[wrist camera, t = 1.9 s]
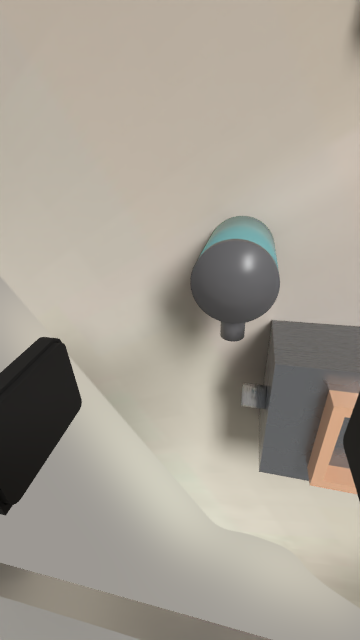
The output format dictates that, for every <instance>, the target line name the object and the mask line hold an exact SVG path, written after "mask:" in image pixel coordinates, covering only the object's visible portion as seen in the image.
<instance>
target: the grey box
mask: <svg viewBox="0 0 360 640" xmlns="http://www.w3.org/2000/svg"><path fill="white" fill-rule="evenodd" d="M359 392H360V327H355V326H342V325H329V324H315V323H302V322H288V321H275V320H272V325H271V332H270V340H269V348H268V355H267V363H266V370H265V378H264V385H257V384H249V383H243V387H242V399H241V406H245V407H252V408H259V409H260V416H259V472H264V473H270V474H275V475H280V476H286V477H291V478H297V479H302V480H307V481H309V483H310V485H311V486H316V487H322V488H327V489H332V490H338V491H343V492H348V493H353V494H357V491H356V487H355V484H354V481H353V477H352V474H351V471H350V467H349V464H348V460H347V457H346V454H345V450H344V446H343V437H344V434H345V431H346V428H347V425H348V422H349V420H350V417H351V414H352V411H353V408H354V406H355V403H356V400H357V397H358V395H359Z"/></svg>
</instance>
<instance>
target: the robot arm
mask: <svg viewBox="0 0 360 640" xmlns="http://www.w3.org/2000/svg"><path fill="white" fill-rule="evenodd" d="M81 403H82V402H81V397H80V393H79V390H78V386H77V383H76V380H75V376H74V373H73V370H72V366H71V363H70V359H69V356H68V353H67V349H66V346H65V345H64V344H63V343H62V342H61V340H60V339H58V338H48V337H41V338H39V339H38V340H37V341H35V342H34V343H33V344H32V345H31V346H30V347H29V348H28V349H27V350H25V351H24V352H23V353H22V354H21V355H20V356H19V357H18V358H16V360H14V361H13V362H12V363H11V364H10V365H9V366H8V367H6V368H5V369H4V370H3V371H2V372H1V373H0V514H3V515H6V514H7V513H8V511H9V510H10V508H11V507H12V505H14V504H16V503H17V502H19V500H20V499H21V498H22V496H23V495H24V493H25V492H26V490H27V489H28V487H29V485H30V484H31V483H32V481H33V479H34V478H35V477H36V475H37V473H38V472H39V470H40V469H41V467H42V466H43V464H44V463H45V461H46V460H47V458H48V457H49V455H50V454H51V452H52V451H53V449H54V448H55V446H56V445H57V443H58V442H59V440H60V438H61V437H62V436H63V434H64V432H65V431H66V430H67V428H68V426H69V425H70V423H71V422H72V420H73V419H74V417H75V416H76V414H77V413H78V411H79V410H80V407H81ZM343 446H344V450H345V454H346V457H347V460H348V464H349V467H350V471H351V474H352V477H353V481H354V484H355V487H356V491H357V494H358V497H359V501H360V392H359V395H358V397H357V400H356V403H355V406H354V408H353V411H352V414H351V417H350V420H349V422H348V425H347V428H346V431H345V434H344V437H343ZM0 640H271V639H268V638H264V637H261V636H257V635H254V634H250V633H247V632H243V631H240V630H236V629H232V628H229V627H226V626H222V625H219V624H215V623H212V622H209V621H205V620H201V619H198V618H194V617H191V616H188V615H184V614H180V613H177V612H174V611H170V610H166V609H163V608H159V607H156V606H152V605H149V604H145V603H142V602H138V601H135V600H131V599H128V598H124V597H120V596H117V595H114V594H110V593H106V592H103V591H99V590H95V589H92V588H89V587H85V586H82V585H78V584H74V583H70V582H67V581H64V580H60V579H57V578H53V577H50V576H46V575H42V574H38V573H35V572H32V571H28V570H24V569H21V568H17V567H13V566H10V565H6V564H3V563H0Z"/></svg>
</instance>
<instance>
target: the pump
mask: <svg viewBox="0 0 360 640" xmlns="http://www.w3.org/2000/svg"><path fill="white" fill-rule="evenodd" d="M279 288H280V278H279V271H278V265H277V258H276V252H275V245H274V240H273V236H272V234H271V232H270V230H269V229H268V228H267V226H266V225H265V224H264V223H262V222H261V221H259V220H257V219H255V218H252V217H248V216H237V217H232V218H229V219H227V220H225V221H224V222H222V223H221V224H220V225H219V226H218V227H217V228H216V229H215V230H214V232H213V233H212V235H211V237H210V239H209V240H208V242H207V244H206V246H205V247H204V249H203V251H202V253H201V255H200V256H199V258H198V260H197V262H196V264H195V266H194V268H193V271H192V274H191V290H192V294H193V297H194V299H195V301H196V303H197V304H198V306H199V307H200V308H201V309H202V310H203V311H204V312H205V313H206V314H208V315H209V316H211V317H212V318H214V319H216V320H219V321H221V334H220V335H221V337H222V338H223V339H225V340H227V341H239V340H241V339H243V338H244V331H245V322H249V321H252V320H254V319H256V318H258V317H260V316H262V315H263V314H264V313H266V312H267V311H268V310H269V309H270V308H271V306H272V305H273V304H274V302H275V300H276V298H277V296H278V293H279Z"/></svg>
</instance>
